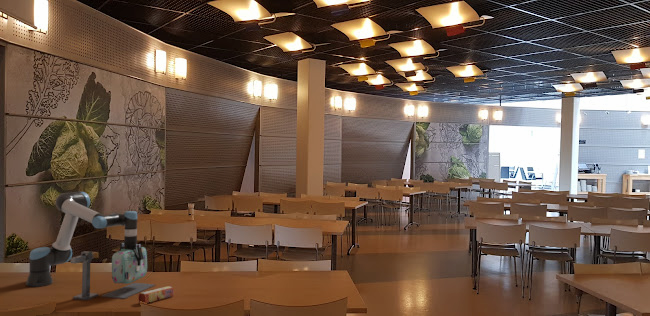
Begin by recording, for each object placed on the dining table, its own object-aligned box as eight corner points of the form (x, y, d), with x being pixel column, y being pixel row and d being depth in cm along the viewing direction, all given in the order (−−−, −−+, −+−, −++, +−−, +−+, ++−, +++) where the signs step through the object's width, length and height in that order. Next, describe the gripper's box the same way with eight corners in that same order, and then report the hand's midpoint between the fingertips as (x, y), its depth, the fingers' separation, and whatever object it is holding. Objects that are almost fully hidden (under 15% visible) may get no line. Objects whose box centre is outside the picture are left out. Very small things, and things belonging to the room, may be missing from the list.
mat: (101, 296, 292) (101, 295, 292) (134, 283, 323) (134, 282, 323) (124, 298, 289) (124, 297, 289) (155, 285, 320) (155, 284, 320)
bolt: (68, 263, 280) (68, 257, 280) (90, 256, 298) (90, 251, 298) (77, 263, 279) (77, 258, 279) (98, 257, 296) (98, 252, 296)
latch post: (72, 298, 287) (73, 252, 287) (84, 294, 296) (85, 249, 296) (86, 300, 284) (87, 254, 284) (98, 295, 294) (99, 250, 294)
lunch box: (124, 286, 292) (125, 251, 292) (109, 285, 294) (110, 250, 294) (148, 276, 318) (149, 244, 318) (135, 275, 320) (135, 243, 320)
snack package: (167, 295, 299) (167, 284, 299) (174, 297, 295) (174, 286, 295) (137, 303, 281) (137, 292, 281) (144, 305, 277) (145, 293, 277)
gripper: (111, 235, 305) (110, 270, 305) (142, 237, 300) (142, 272, 300) (119, 233, 312) (118, 267, 312) (149, 235, 307) (149, 270, 307)
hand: (130, 270), depth 306 cm, fingers closed on lunch box, 10 cm apart
